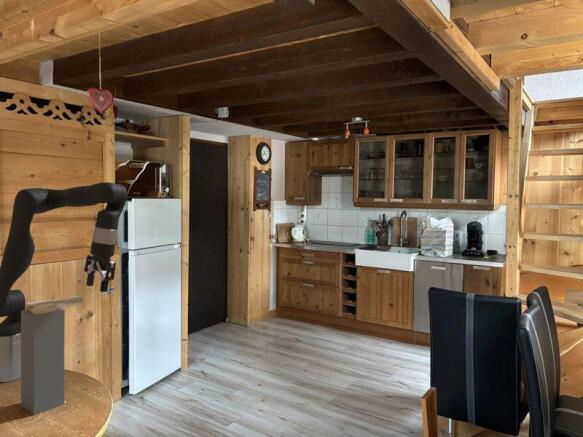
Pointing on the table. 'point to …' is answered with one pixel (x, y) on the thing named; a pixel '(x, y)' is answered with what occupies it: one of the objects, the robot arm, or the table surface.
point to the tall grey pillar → (42, 360)
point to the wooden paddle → (52, 304)
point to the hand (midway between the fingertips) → (96, 288)
